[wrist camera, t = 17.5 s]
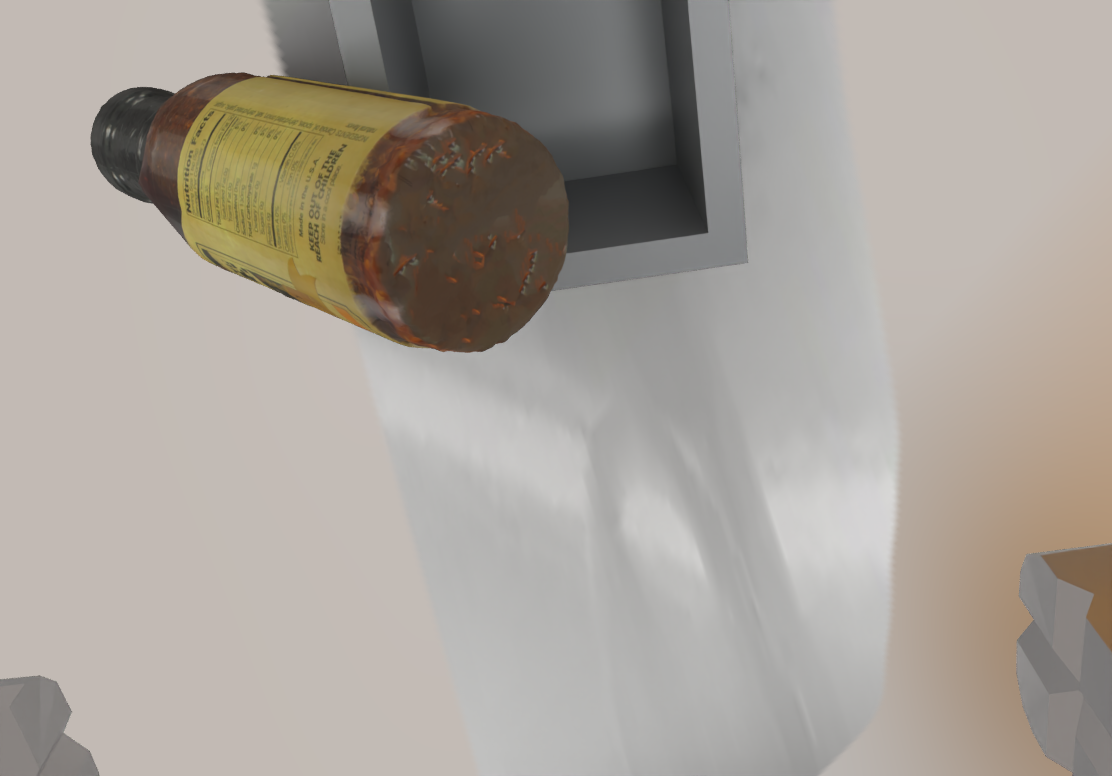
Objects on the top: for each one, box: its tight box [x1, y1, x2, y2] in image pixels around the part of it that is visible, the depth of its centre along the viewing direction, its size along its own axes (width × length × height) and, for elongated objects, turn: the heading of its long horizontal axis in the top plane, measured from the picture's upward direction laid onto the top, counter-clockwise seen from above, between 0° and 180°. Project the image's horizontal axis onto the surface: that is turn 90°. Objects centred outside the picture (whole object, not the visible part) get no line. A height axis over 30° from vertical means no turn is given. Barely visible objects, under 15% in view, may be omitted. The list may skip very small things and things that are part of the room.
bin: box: [329, 0, 748, 291], centre depth 37 cm, size 12×12×10 cm
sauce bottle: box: [91, 73, 569, 353], centre depth 32 cm, size 6×6×20 cm
